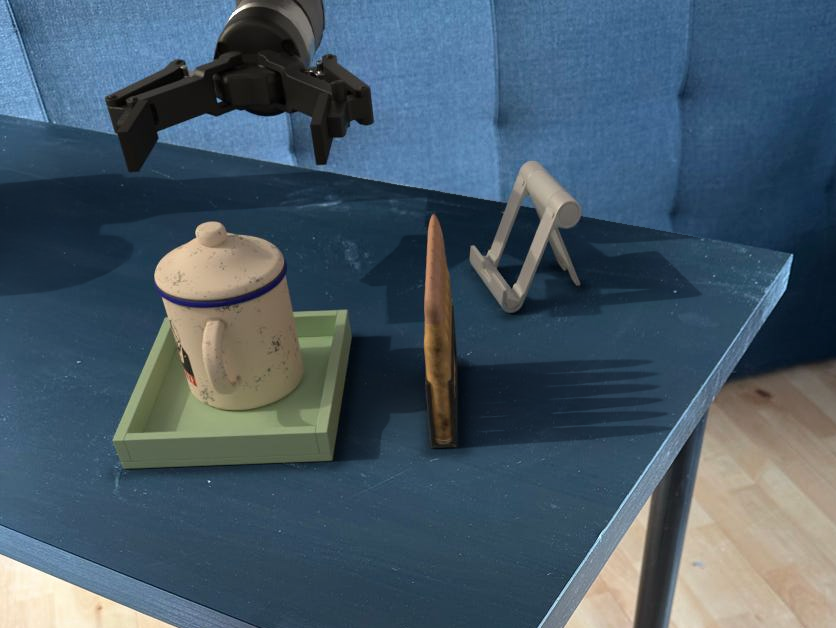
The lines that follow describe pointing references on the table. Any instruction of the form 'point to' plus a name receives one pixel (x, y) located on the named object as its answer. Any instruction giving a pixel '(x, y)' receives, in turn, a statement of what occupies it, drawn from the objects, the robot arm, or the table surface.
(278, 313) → the teacup with lid
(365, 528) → the table surface
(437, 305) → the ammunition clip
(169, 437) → the tray
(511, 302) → the tablet stand
